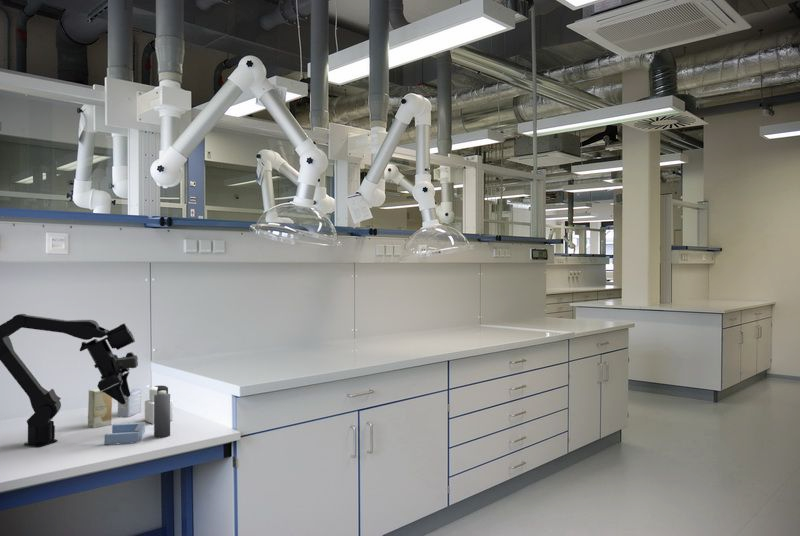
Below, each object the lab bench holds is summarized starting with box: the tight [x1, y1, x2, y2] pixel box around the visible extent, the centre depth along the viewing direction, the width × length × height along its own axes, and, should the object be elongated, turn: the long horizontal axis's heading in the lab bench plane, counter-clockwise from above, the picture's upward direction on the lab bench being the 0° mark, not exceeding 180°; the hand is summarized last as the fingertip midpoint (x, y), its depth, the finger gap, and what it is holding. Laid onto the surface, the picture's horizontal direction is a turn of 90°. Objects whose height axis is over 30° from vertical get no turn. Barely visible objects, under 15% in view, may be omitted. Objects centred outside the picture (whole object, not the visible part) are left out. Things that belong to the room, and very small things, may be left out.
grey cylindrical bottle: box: [153, 391, 171, 439], centre depth 189 cm, size 5×5×14 cm
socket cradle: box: [103, 422, 146, 445], centre depth 186 cm, size 10×12×3 cm
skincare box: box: [87, 388, 113, 429], centre depth 201 cm, size 6×4×12 cm
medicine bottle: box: [144, 385, 174, 425], centre depth 207 cm, size 7×7×12 cm
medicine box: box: [117, 388, 142, 418], centre depth 216 cm, size 8×4×9 cm, turn 172°
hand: (126, 400), depth 188 cm, fingers open, 9 cm apart
